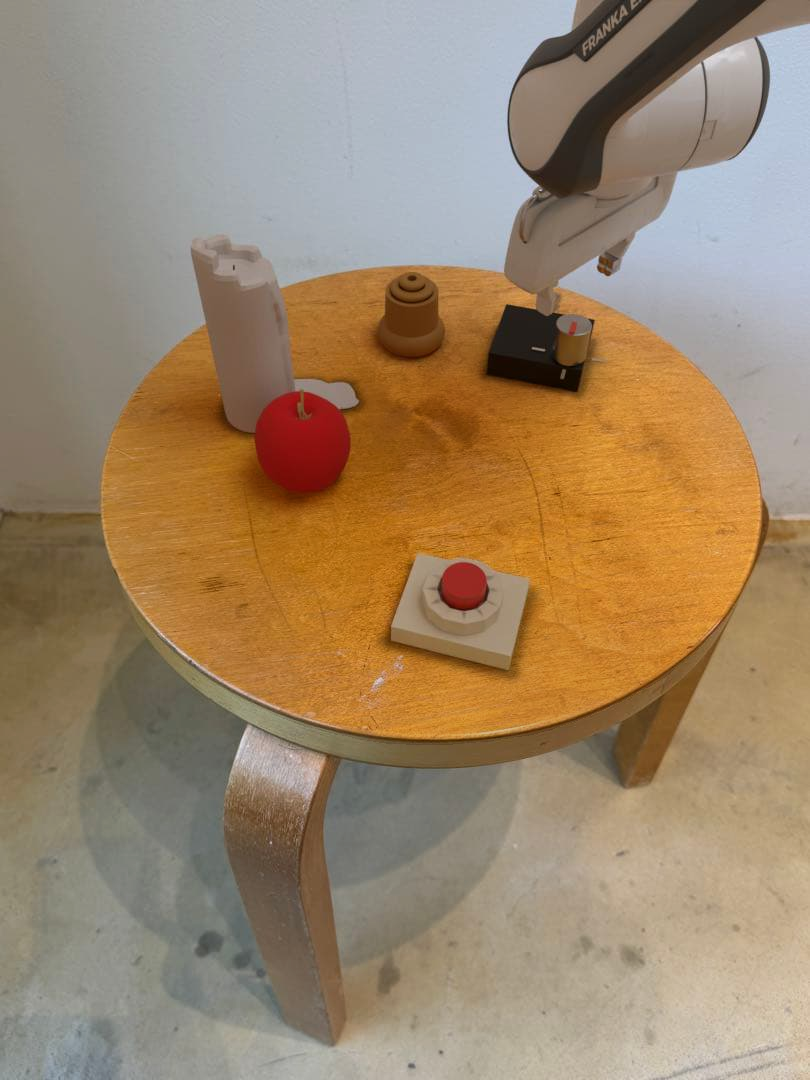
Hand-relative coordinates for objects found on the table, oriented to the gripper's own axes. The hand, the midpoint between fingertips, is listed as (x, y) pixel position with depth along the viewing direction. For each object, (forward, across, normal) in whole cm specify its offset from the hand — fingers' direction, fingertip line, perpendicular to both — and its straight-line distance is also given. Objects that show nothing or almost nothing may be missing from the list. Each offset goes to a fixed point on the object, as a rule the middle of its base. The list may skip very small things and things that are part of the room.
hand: (577, 290), depth 84 cm
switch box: (+11, -30, -14) cm, 35 cm away
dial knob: (+8, 0, 0) cm, 8 cm away
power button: (+7, -30, -14) cm, 34 cm away
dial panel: (+11, 0, +2) cm, 11 cm away
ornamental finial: (+11, -7, +16) cm, 21 cm away
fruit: (+11, -29, +8) cm, 32 cm away
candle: (+11, -24, +17) cm, 31 cm away
